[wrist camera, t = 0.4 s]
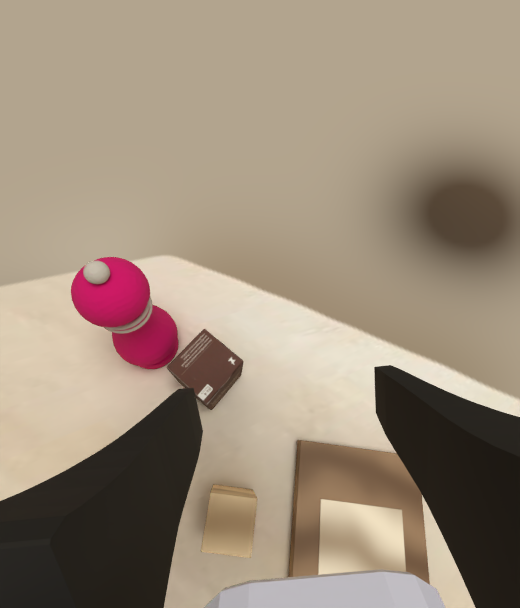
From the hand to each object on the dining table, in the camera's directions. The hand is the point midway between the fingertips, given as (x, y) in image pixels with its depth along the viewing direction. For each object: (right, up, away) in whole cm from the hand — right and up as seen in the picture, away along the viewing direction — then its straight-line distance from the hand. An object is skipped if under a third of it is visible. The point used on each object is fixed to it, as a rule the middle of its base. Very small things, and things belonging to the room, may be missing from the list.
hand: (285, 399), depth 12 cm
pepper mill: (-15, -2, +28) cm, 32 cm away
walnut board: (+9, -23, +21) cm, 32 cm away
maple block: (-4, -19, +21) cm, 29 cm away
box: (-8, -6, +27) cm, 29 cm away
